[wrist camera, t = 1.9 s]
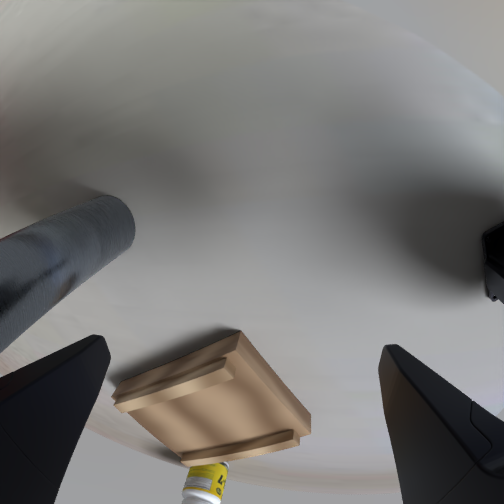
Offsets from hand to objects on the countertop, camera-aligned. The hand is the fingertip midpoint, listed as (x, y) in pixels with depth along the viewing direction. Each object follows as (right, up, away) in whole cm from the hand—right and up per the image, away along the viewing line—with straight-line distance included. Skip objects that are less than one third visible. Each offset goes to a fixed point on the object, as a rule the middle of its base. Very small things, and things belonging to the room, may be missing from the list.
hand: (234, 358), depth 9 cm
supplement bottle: (-5, -24, +24) cm, 34 cm away
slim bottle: (-11, +5, +13) cm, 18 cm away
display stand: (-4, -12, +19) cm, 22 cm away
